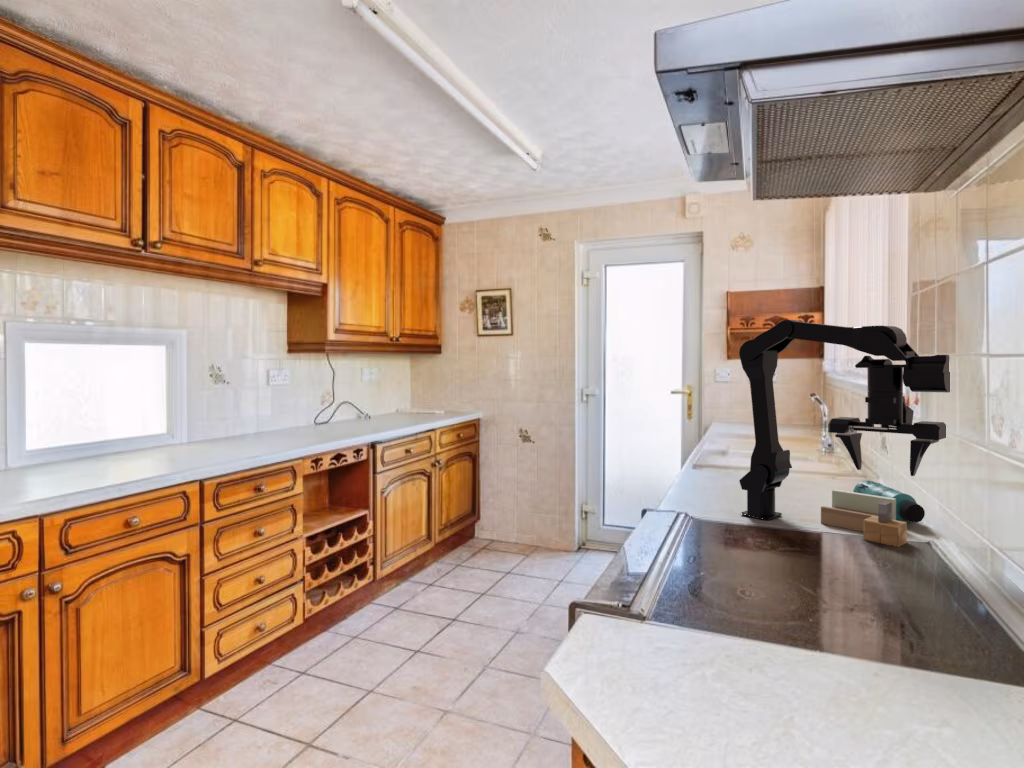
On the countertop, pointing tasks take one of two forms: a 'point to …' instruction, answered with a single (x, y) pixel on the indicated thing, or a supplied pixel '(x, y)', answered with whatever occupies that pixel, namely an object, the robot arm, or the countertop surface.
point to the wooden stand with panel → (853, 509)
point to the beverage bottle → (904, 502)
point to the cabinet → (885, 527)
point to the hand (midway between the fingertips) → (885, 472)
